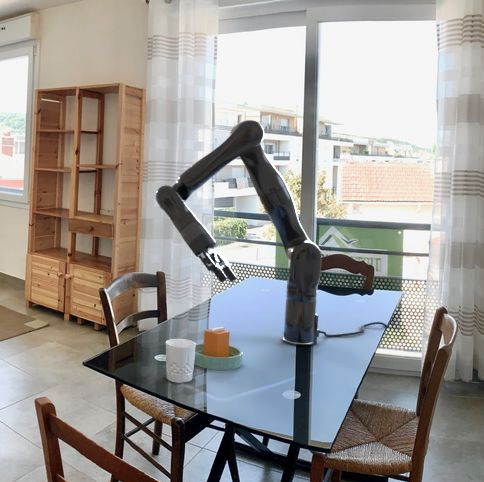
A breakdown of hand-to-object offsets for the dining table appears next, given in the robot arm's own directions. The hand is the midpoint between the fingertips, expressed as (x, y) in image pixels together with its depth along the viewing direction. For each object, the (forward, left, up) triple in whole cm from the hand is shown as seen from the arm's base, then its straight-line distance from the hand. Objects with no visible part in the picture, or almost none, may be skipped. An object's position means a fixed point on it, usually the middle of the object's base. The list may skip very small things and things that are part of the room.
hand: (229, 280), depth 186 cm
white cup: (+21, +22, -23) cm, 38 cm away
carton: (+7, +10, -22) cm, 25 cm away
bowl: (+7, +10, -22) cm, 25 cm away
